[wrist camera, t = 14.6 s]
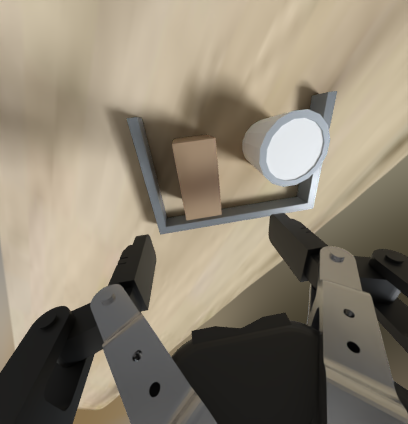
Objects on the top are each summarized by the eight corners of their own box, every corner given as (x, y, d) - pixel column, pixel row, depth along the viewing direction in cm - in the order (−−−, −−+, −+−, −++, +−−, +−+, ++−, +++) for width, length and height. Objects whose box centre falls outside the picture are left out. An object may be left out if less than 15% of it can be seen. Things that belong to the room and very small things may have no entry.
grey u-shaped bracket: (132, 118, 19) (126, 118, 17) (320, 94, 20) (337, 91, 18) (161, 224, 26) (160, 234, 23) (302, 201, 27) (313, 208, 25)
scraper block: (173, 138, 21) (171, 144, 15) (206, 134, 21) (215, 138, 16) (185, 199, 24) (186, 220, 19) (212, 195, 25) (221, 214, 19)
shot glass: (290, 160, 24) (329, 174, 17) (242, 177, 24) (264, 195, 18) (287, 104, 20) (333, 96, 14) (232, 124, 21) (254, 124, 14)
